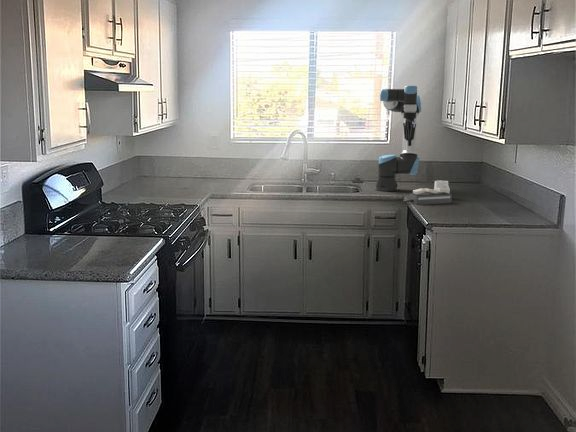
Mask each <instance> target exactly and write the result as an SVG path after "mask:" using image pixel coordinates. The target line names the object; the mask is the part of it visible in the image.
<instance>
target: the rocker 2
mask: <svg viewBox="0 0 576 432" xmlns="http://www.w3.org/2000/svg"><path fill="white" fill-rule="evenodd" d="M424 189H426V193H437V192H438V191H437V190H434V188H433V189H431V188H427V187H425V188H424Z"/></svg>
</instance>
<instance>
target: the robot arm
mask: <svg viewBox="0 0 576 432" xmlns="http://www.w3.org/2000/svg"><path fill="white" fill-rule="evenodd" d="M379 99H380V100H379V101H380V102H382V104H383V107H384V108H385V109H386V110H388V111H391V112H394V113H401V115H400V116H402V117H403V119H402V122H403V123H402V144H401V147H402V148H401V153H399V156H397V154H385V155H381V156H379V158H378V164H377V165H378V171H377V180H376V183H375V187H374V189H375V190H376V191H380V192H382V191H383V192H395V191H398V190H399V185H398V182H397V178H396V176H397V175H403V176H404V175H407V176H411V175H413V176H414V175H416V174H418V169H419V164H420V163H419V162H420V157H419V156H418V153H417V152H416V145H417V143H416V140H417V139H416V138H417V137H416V136H417V117H419V115H420V113H422V100H421V97H420V95H419V94H418V86H417V85H405V86H404V88H392V89H391V88H384V89H383V88H381V89H380V94H379Z"/></svg>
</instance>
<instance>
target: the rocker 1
mask: <svg viewBox="0 0 576 432" xmlns="http://www.w3.org/2000/svg"><path fill="white" fill-rule="evenodd" d="M412 193H414V194H420V193H427V191H426V189H425V188H422V187H421V188H417V189H413V190H412Z"/></svg>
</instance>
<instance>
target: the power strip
mask: <svg viewBox="0 0 576 432" xmlns="http://www.w3.org/2000/svg"><path fill="white" fill-rule="evenodd" d="M452 194H453V193H446V192H437V193H432V192H424V193H420V194H414V193H413V192H412V193H409V199H405V200H404V199H403V200H402V202H403V203H411V204H413V205H418V206H419V205H434V204H452V199H453V195H452Z"/></svg>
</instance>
